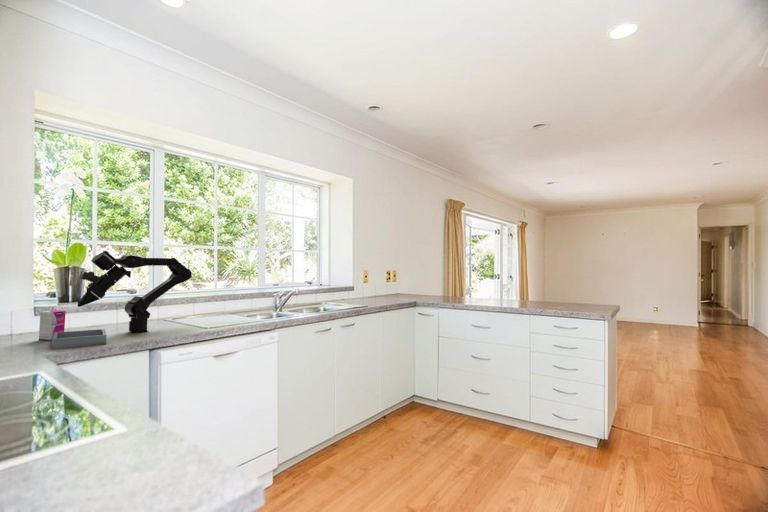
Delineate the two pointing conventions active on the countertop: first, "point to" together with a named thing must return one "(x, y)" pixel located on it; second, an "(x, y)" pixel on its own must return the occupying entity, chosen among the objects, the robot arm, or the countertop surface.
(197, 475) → the countertop surface
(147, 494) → the countertop surface
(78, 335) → the tray
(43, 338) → the supplement box
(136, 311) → the robot arm
